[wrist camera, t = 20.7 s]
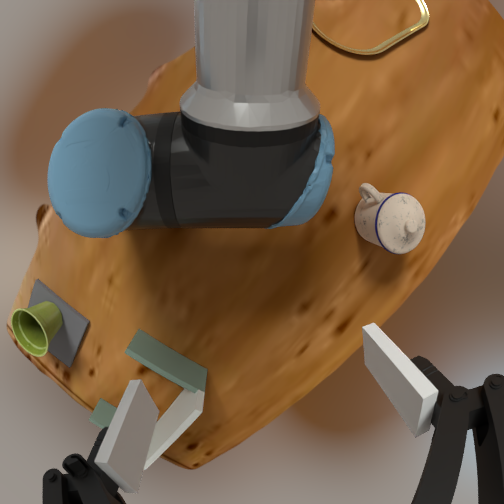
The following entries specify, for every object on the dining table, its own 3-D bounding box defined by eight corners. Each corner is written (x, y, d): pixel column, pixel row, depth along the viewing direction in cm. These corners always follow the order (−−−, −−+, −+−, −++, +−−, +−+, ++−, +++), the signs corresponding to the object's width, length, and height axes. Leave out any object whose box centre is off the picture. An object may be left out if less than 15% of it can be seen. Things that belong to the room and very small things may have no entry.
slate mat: (25, 327, 46) (22, 328, 45) (38, 278, 44) (35, 280, 43) (71, 365, 49) (69, 367, 48) (89, 321, 47) (87, 323, 46)
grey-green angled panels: (99, 400, 51) (80, 435, 39) (139, 328, 47) (116, 364, 36) (155, 432, 53) (145, 470, 42) (207, 369, 50) (202, 412, 38)
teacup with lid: (405, 219, 46) (445, 228, 35) (372, 254, 47) (407, 272, 36) (367, 167, 44) (403, 162, 33) (331, 203, 45) (361, 207, 34)
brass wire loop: (437, 19, 37) (440, 17, 36) (351, 73, 41) (354, 70, 39) (382, -34, 33) (384, -37, 32) (279, 5, 37) (280, 1, 35)
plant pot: (56, 343, 46) (35, 364, 38) (28, 308, 44) (5, 324, 36) (77, 322, 46) (56, 343, 37) (48, 283, 44) (22, 299, 35)
